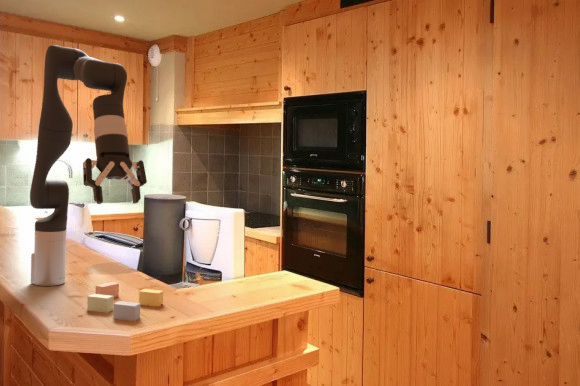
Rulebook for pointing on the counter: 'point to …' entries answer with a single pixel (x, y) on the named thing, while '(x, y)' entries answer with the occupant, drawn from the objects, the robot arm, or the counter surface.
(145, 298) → the mustard brick
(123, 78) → the robot arm
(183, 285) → the mounting bracket
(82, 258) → the counter surface
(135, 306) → the slate brick
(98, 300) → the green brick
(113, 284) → the terracotta brick
